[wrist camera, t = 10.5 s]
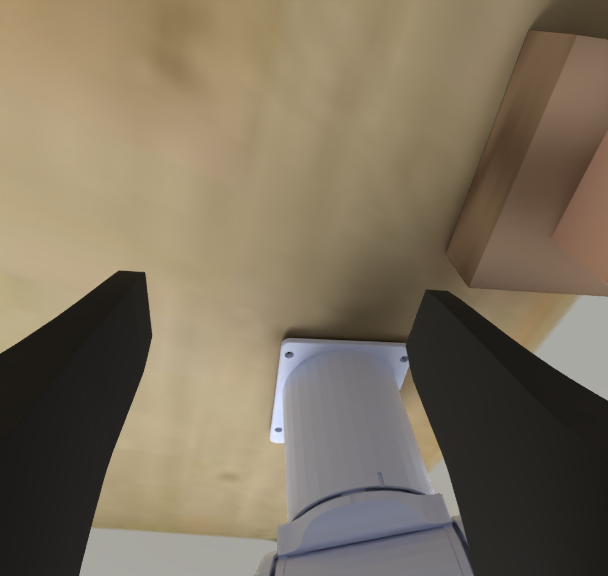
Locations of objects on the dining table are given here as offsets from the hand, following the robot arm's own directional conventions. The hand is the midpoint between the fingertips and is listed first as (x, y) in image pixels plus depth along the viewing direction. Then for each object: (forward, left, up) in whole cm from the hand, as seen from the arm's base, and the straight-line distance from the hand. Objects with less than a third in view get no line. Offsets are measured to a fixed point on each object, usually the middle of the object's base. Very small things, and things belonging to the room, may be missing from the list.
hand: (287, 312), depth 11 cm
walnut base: (+2, -14, -9) cm, 17 cm away
